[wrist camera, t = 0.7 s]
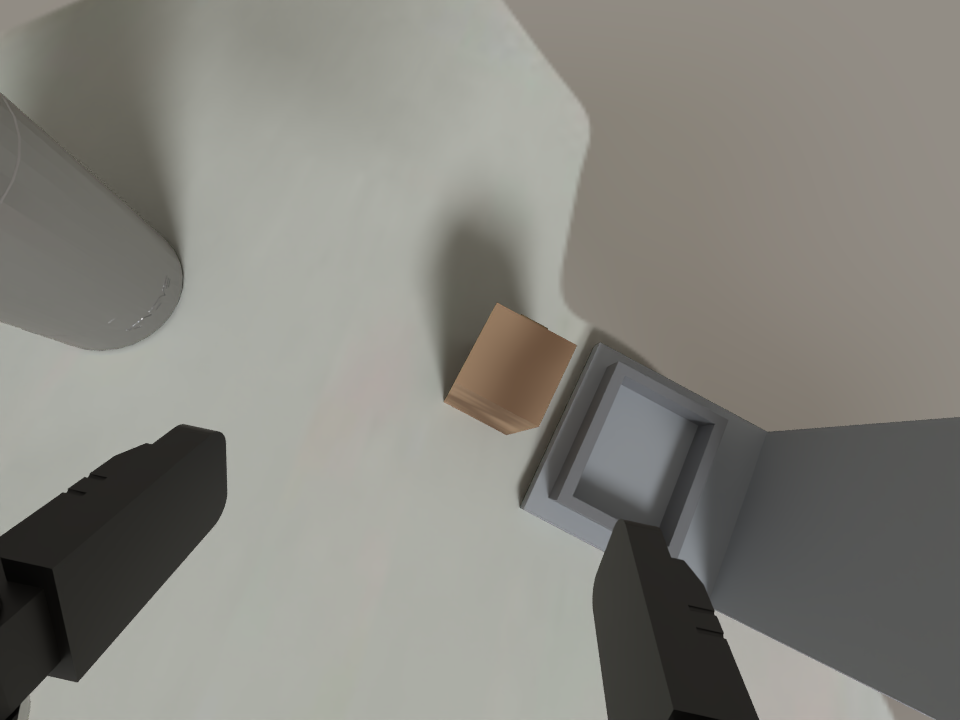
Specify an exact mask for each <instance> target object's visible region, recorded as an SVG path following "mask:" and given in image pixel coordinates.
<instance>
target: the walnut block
mask: <svg viewBox="0 0 960 720" xmlns="http://www.w3.org/2000/svg"><path fill="white" fill-rule="evenodd" d="M576 346H577V345H575V344H573V343H572V342H570V341H568V340H566V339H564V338H562V337H560V336H558V335H557V334H555V333H553V332H551V331H549V330H548V328H546V327H544V326H542V325H541V324H539V323H537V322H535V321H533V320H531V319H529V318H528V317H526V316H524V315H522V314H521V315H519V314H517V313H516V312H514V311H512V310H510V309H508V308H506V307H504V306H502V305H501V304H499V303H496V305H495V307H494V309H493V311H492V312H491V314H490V316H489V318H488V320H487V322H486V324H485V326H484V327H483V329H482V331H481V333H480V335H479V337H478V339H477V341H476V342H475V344H474V346H473V348H472V350H471V352H470V354H469V356H468V357H467V359H466V361H465V363H464V365H463V367H462V369H461V371H460V373H459V374H458V376H457V378H456V380H455V382H454V384H453V386H452V388H451V389H450V391H449V393H448V395H447V397H446V399H445V401H444V402H445V403H447V404H449V405H451V406H452V407H454V408H456V409H458V410H460V411H462V412H464V413H466V414H468V415H470V416H471V417H473V418H475V419H477V420H479V421H481V422H483V423H485V424H487V425H488V426H490V427H492V428H494V429H496V430H498V431H500V432H502V433H504V434H506V435H509V434H512V433H516V432H520V431H524V430H528V429H532V428H535V427H539V425H540V423H541V421H542V419H543V416H544V414H545V412H546V410H547V408H548V406H549V404H550V402H551V399H552V397H553V395H554V393H555V391H556V389H557V387H558V385H559V383H560V380H561V378H562V376H563V374H564V372H565V370H566V368H567V366H568V363H569V361H570V359H571V357H572V355H573V353H574V351H575V349H576Z"/></svg>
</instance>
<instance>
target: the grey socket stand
mask: <svg viewBox="0 0 960 720" xmlns="http://www.w3.org/2000/svg"><path fill="white" fill-rule="evenodd" d="M520 508H521V509H523V510H525V511H527V512H529V513H531V514H533V515H535V516H537V517H539V518H541V519H542V520H544V521H546V522H548V523H550V524H552V525H554V526H556V527H558V528H560V529H562V530H563V531H565V532H567V533H569V534H571V535H573V536H575V537H577V538H579V539H581V540H583V541H584V542H586V543H588V544H590V545H592V546H594V547H596V548H598V549H600V550H602V551H604V552H605V550H606V547H607V544H608V542H609V539H610V536H611V534H612V531H613V528H614V526H615V524H616V522H617V521H618V520H619V519H624V520H629V521H633V522H638V523H643V524H647V525H652V526H657V527H659V528H660V529H661V531H662V533H663V536H664V539H665V541H666V544H667V547H668V550H669V553H670V556H671V557H672V558H676V559H681V560H684V561H685V562H686V563H687V564H688V566H689V567H690V568H691V569H692V571H693V572H694V573H695V574H696V576H697V577H698V578H699V579H700V580H701V582H702V583H703V584H704V586H705V589H706V591H707V593H708V596H709V598H710V601H711V603H712V606H713V608H714V610H716V611H718V612H720V613H722V614H724V615H726V616H728V617H730V618H732V619H734V620H736V621H738V622H740V623H742V624H744V625H746V626H748V627H750V628H752V629H754V630H756V631H758V632H760V633H762V634H764V635H766V636H768V637H770V638H772V639H774V640H776V641H778V642H780V643H782V644H784V645H786V646H788V647H790V648H792V649H794V650H796V651H798V652H800V653H802V654H804V655H806V656H808V657H810V658H812V659H814V660H816V661H818V662H820V663H822V664H824V665H826V666H828V667H830V668H832V669H834V670H836V671H838V672H840V673H842V674H844V675H846V676H848V677H850V678H852V679H854V680H856V681H858V682H860V683H862V684H864V685H866V686H868V687H870V688H872V689H874V690H876V691H878V692H880V693H882V694H884V695H886V696H888V697H890V698H892V699H894V700H896V701H899V702H900V703H902V704H904V705H906V706H908V707H910V708H912V709H914V710H916V711H918V712H920V713H922V714H925V715H926V716H928V717H930V718H932V719H934V720H960V417H954V418H942V419H928V420H916V421H902V422H890V423H876V424H864V425H850V426H838V427H825V428H812V429H799V430H786V431H773V432H767V431H765V430H763V429H761V428H759V427H757V426H755V425H754V424H752V423H750V422H748V421H746V420H744V419H742V418H741V417H739V416H737V415H735V414H733V413H731V412H729V411H728V410H726V409H724V408H722V407H720V406H718V405H716V404H714V403H713V402H711V401H709V400H707V399H705V398H703V397H701V396H700V395H697V394H696V393H694V392H692V391H690V390H688V389H686V388H685V387H682V386H681V385H679V384H677V383H675V382H673V381H672V380H670V379H668V378H666V377H664V376H662V375H660V374H659V373H657V372H655V371H653V370H651V369H649V368H647V367H645V366H644V365H642V364H640V363H638V362H636V361H634V360H632V359H631V358H629V357H627V356H625V355H623V354H621V353H619V352H618V351H616V350H614V349H612V348H610V347H608V346H606V345H604V344H603V343H601V342H600V343H598V344H597V345H595V346H594V348H593V350H592V352H591V354H590V356H589V359H588V361H587V363H586V365H585V367H584V369H583V372H582V374H581V376H580V378H579V380H578V382H577V385H576V387H575V389H574V391H573V393H572V395H571V398H570V400H569V402H568V404H567V406H566V408H565V411H564V413H563V415H562V417H561V419H560V421H559V424H558V426H557V428H556V430H555V432H554V434H553V437H552V439H551V441H550V443H549V445H548V447H547V450H546V452H545V454H544V456H543V458H542V460H541V463H540V465H539V467H538V469H537V471H536V473H535V476H534V478H533V480H532V482H531V484H530V486H529V489H528V491H527V493H526V495H525V497H524V499H523V502H522V504H521V506H520Z"/></svg>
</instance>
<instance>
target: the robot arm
mask: <svg viewBox="0 0 960 720" xmlns="http://www.w3.org/2000/svg"><path fill="white" fill-rule="evenodd" d="M182 280H183V275H182V269H181V264H180V261H179V259H178V257H177V255H176V252H175V251H174V249H173V248H172V247H171V245H170V244H169V243H168V242H167V240H165V239H164V238H163V237H162V236H161V235H160V234H159V233H158V232H157V231H155V230H154V229H153V228H152V227H151V226H150V225H149V224H148V223H146V222H145V221H144V220H143V219H142V218H141V217H140V216H139V215H137V214H136V213H135V212H134V211H133V210H132V209H131V208H130V207H129V206H128V205H127V204H126V203H124V202H123V201H122V200H121V199H120V198H119V197H118V196H117V195H115V194H114V193H113V192H112V191H111V190H110V189H109V188H108V187H106V186H105V185H104V184H103V183H102V182H101V181H100V180H99V179H97V178H96V177H95V176H94V175H93V174H92V173H91V172H90V171H88V170H87V169H86V168H85V167H84V166H83V165H82V164H81V163H79V162H78V161H77V160H76V159H75V158H74V157H73V156H72V155H70V154H69V153H68V152H67V151H66V150H65V149H64V148H63V147H61V146H60V145H59V144H58V143H57V142H56V141H55V140H53V139H52V138H51V137H50V136H49V135H48V134H47V133H46V132H44V131H43V130H42V129H41V128H40V127H39V126H38V125H37V124H35V123H34V122H33V121H32V120H31V119H30V118H29V117H28V116H26V115H25V114H24V113H23V112H22V111H21V110H20V109H19V108H17V107H16V106H15V105H14V104H13V103H12V102H11V101H10V100H8V99H7V98H6V97H5V96H4V95H3V94H2V93H1V92H0V322H3V323H6V324H9V325H12V326H15V327H18V328H21V329H23V330H26V331H29V332H32V333H35V334H38V335H41V336H44V337H47V338H50V339H53V340H56V341H59V342H62V343H65V344H68V345H72V346H75V347H78V348H82V349H87V350H99V351H103V350H112V349H119V348H122V347H126V346H129V345H133V344H135V343H137V342H139V341H141V340H143V339H145V338H147V337H148V336H150V335H151V334H152V333H154V332H155V331H156V330H158V329H159V328H160V327H161V326H162V325H163V324H164V323H165V322H166V320H167V319H168V318H169V317H170V316H171V314H172V312H173V311H174V309H175V307H176V305H177V304H178V301H179V298H180V294H181V291H182ZM226 499H227V467H226V440H225V437H224V435H223V434H222V433H221V432H218V431H213V430H209V429H204V428H199V427H195V426H190V425H185V424H182V425H178V426H176V427H175V428H173V429H172V430H171V431H169V432H168V433H167V434H165V435H164V436H163V437H161V438H160V439H159V440H157V441H156V442H155V443H153V444H148V443H145V444H143V445H140V446H138V447H136V448H133V449H131V450H128V451H126V452H123V453H121V454H118V455H116V456H114V457H112V458H111V459H110V460H108V461H107V462H105V463H104V464H103V465H101V466H100V467H98V468H97V469H95V470H94V471H93V472H91V473H90V475H89V477H88V478H86V477H84V478H83V479H81V480H80V481H78V482H77V483H76V484H74V485H73V486H71V487H70V488H68V491H67V493H61V494H60V495H59V496H57V497H56V498H54V499H53V500H51V501H50V502H49V503H47V504H46V505H44V506H43V507H41V508H40V509H39V510H37V511H36V512H34V513H33V514H32V515H30V516H29V517H27V518H26V519H24V520H23V521H22V522H20V523H19V524H17V525H16V526H14V527H13V528H12V529H10V530H9V531H7V532H6V533H5V534H3V535H2V536H0V720H28V718H29V713H30V705H31V701H30V696H29V694H30V693H31V692H32V691H33V690H34V689H35V688H36V687H37V686H38V685H39V684H40V683H41V682H42V681H43V680H44V679H45V678H46V676H51V677H56V678H60V679H65V680H69V681H73V682H78V681H79V680H80V679H81V678H82V677H83V676H84V674H85V673H86V672H87V671H88V670H89V669H90V668H91V666H92V665H93V664H94V663H95V662H96V661H97V660H98V658H99V657H100V656H101V655H102V654H103V653H104V652H105V650H106V649H107V648H108V647H109V646H110V645H111V644H112V642H113V641H114V640H115V639H116V638H117V637H118V635H119V634H120V633H121V632H122V631H123V630H124V629H125V627H126V626H127V625H128V624H129V623H130V622H131V621H132V619H133V618H134V617H135V616H136V615H137V614H138V613H139V611H140V610H141V609H142V608H143V607H144V606H145V605H146V603H147V602H148V601H149V600H150V599H151V598H152V597H153V595H154V594H155V593H156V592H157V591H158V590H159V589H160V587H161V586H162V585H163V584H164V583H165V582H166V580H167V579H168V578H169V577H170V576H171V575H172V574H173V572H174V571H175V570H176V569H177V568H178V567H179V566H180V564H181V563H182V562H183V561H184V560H185V559H186V558H187V556H188V555H189V554H190V553H191V552H192V551H193V550H194V548H195V547H196V546H197V545H198V544H199V543H200V542H201V540H202V539H203V538H204V537H205V536H206V535H207V534H208V532H209V531H210V530H211V529H212V528H213V527H214V525H215V524H216V523H217V521H218V520H219V518H220V516H221V514H222V512H223V509H224V507H225V504H226ZM593 614H594V621H595V628H596V635H597V643H598V650H599V657H600V665H601V672H602V679H603V686H604V694H605V701H606V708H607V715H608V720H759V718H758V716H757V713H756V711H755V708H754V706H753V704H752V701H751V699H750V696H749V694H748V691H747V689H746V686H745V684H744V682H743V679H742V677H741V674H740V672H739V669H738V667H737V664H736V662H735V660H734V657H733V655H732V652H731V650H730V647H729V645H728V642H727V640H726V639H724V638H723V634H724V633H723V630H722V628H721V625H720V623H719V620H718V618H717V616H714V608H713V606H712V603H711V601H710V598H709V596H708V593H707V591H706V589H705V586H704V584H703V583H702V582H701V580H700V579H699V578H698V577H697V576H696V574H695V573H694V572H693V571H692V569H691V568H690V567H689V566H688V564H687V563H686V562H685V561H684V560H681V559H676V558H672V557H671V556H670V553H669V550H668V547H667V544H666V541H665V539H664V536H663V533H662V531H661V529H660V528H659V527H657V526H652V525H647V524H643V523H638V522H633V521H629V520H624V519H619V520H618V521H617V522H616V524H615V526H614V528H613V531H612V534H611V536H610V539H609V542H608V544H607V547H606V550H605V552H604V555H603V558H602V560H601V563H600V566H599V568H598V571H597V574H596V577H595V581H594V587H593Z"/></svg>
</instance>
